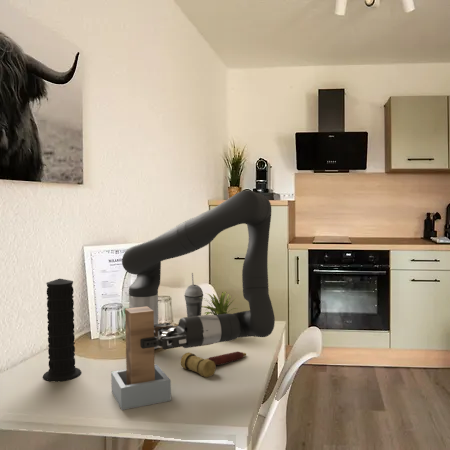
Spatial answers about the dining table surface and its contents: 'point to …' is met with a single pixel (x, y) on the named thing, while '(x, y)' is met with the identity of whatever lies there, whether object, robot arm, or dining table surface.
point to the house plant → (218, 305)
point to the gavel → (208, 362)
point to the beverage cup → (193, 300)
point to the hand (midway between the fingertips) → (136, 339)
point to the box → (140, 390)
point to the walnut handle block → (136, 356)
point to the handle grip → (61, 331)
